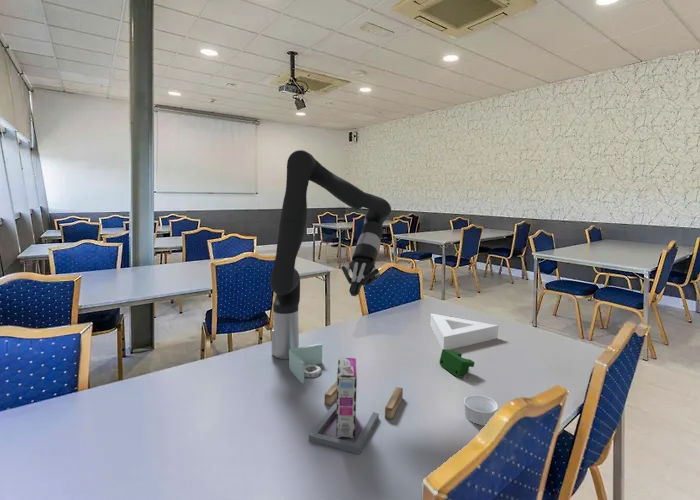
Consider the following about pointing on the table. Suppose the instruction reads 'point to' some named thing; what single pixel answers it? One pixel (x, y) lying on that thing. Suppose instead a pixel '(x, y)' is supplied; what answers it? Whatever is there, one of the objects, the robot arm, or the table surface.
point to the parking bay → (338, 443)
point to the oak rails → (389, 409)
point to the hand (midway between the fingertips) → (353, 294)
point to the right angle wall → (305, 361)
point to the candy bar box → (346, 398)
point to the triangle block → (461, 331)
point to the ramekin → (479, 408)
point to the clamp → (455, 362)
